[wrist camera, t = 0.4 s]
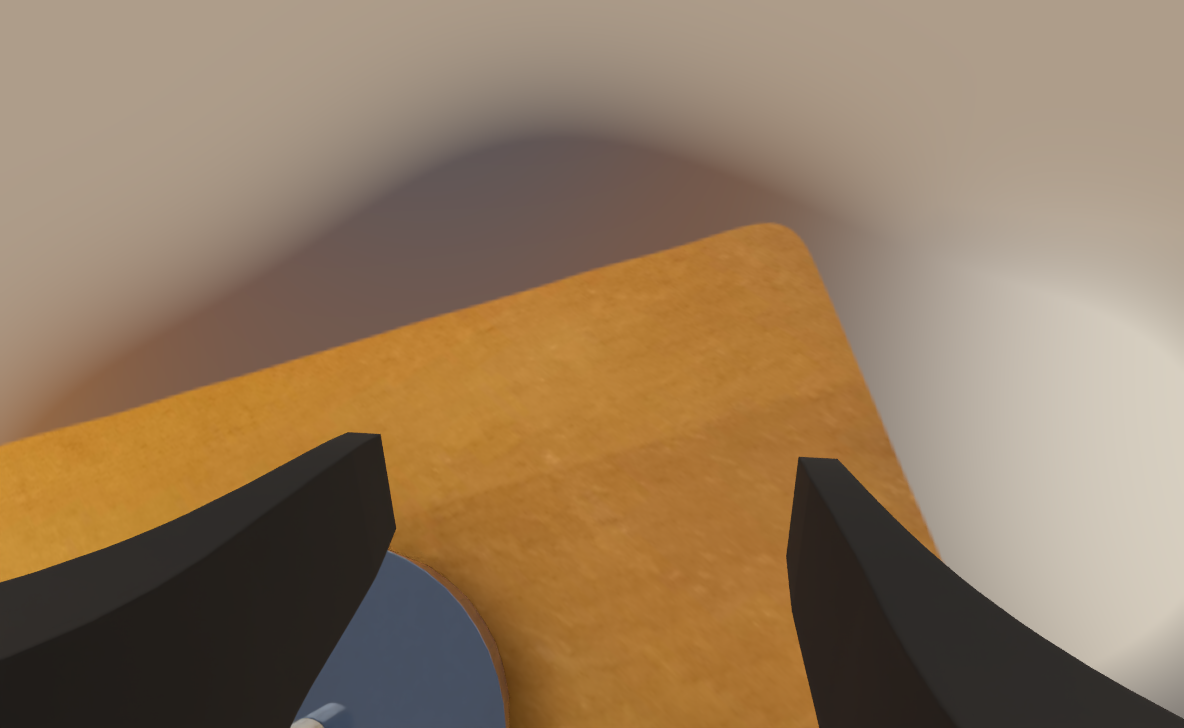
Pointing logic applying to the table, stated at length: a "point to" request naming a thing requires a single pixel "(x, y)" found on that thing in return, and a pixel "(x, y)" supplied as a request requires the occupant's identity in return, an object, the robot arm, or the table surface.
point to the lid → (407, 661)
